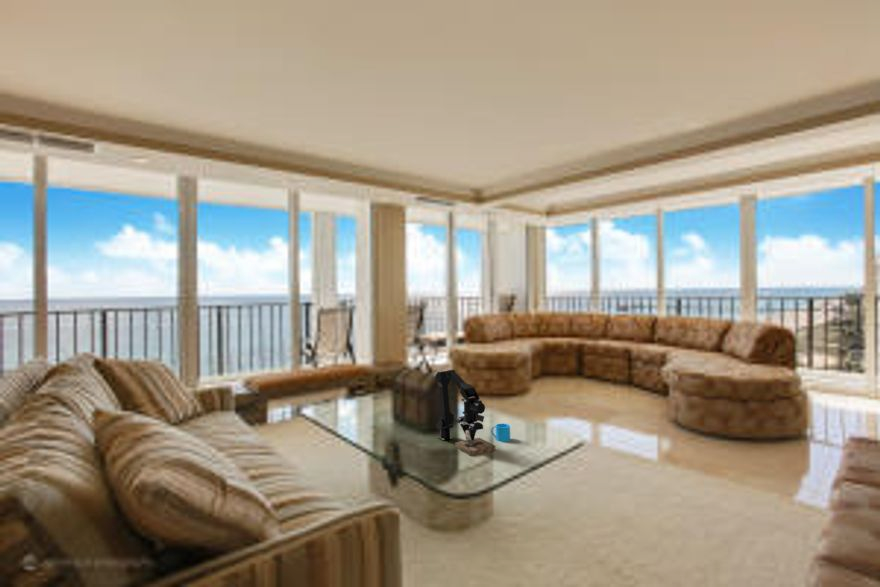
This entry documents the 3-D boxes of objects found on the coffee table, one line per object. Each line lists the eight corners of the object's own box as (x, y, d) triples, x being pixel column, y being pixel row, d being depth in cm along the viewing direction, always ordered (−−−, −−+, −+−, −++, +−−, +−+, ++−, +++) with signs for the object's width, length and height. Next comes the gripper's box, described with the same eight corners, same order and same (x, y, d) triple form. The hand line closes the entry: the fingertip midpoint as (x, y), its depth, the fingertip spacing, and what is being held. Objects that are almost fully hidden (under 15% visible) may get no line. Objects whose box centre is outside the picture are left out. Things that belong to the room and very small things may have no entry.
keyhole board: (470, 456, 217) (470, 451, 217) (455, 447, 232) (455, 442, 232) (495, 450, 225) (495, 445, 225) (479, 442, 239) (479, 437, 239)
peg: (464, 446, 228) (463, 430, 228) (471, 444, 230) (471, 428, 230) (468, 449, 224) (468, 432, 224) (476, 447, 226) (476, 430, 226)
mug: (512, 438, 243) (512, 424, 243) (506, 442, 236) (505, 428, 236) (494, 435, 250) (494, 421, 250) (487, 439, 243) (487, 425, 243)
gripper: (491, 411, 223) (492, 441, 222) (472, 404, 239) (473, 431, 239) (473, 414, 218) (474, 444, 217) (456, 407, 234) (456, 435, 234)
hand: (470, 438), depth 227 cm, fingers closed on peg, 5 cm apart
